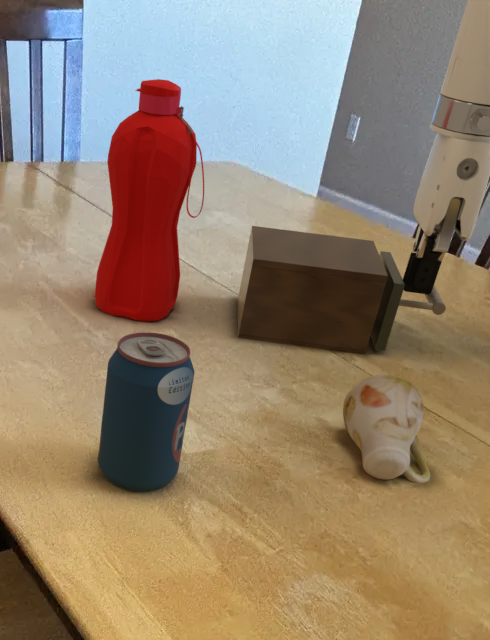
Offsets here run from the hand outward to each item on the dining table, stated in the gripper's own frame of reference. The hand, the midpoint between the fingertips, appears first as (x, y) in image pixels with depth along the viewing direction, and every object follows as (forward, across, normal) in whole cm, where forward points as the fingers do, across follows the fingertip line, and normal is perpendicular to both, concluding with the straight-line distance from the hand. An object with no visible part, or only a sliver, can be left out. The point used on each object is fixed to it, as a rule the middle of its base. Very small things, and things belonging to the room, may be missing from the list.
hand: (415, 290), depth 101 cm
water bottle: (+7, -1, +31) cm, 32 cm away
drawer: (+6, 0, +7) cm, 9 cm away
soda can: (+7, -39, +28) cm, 49 cm away
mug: (+6, -30, +6) cm, 31 cm away
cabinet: (+6, 0, +12) cm, 14 cm away
